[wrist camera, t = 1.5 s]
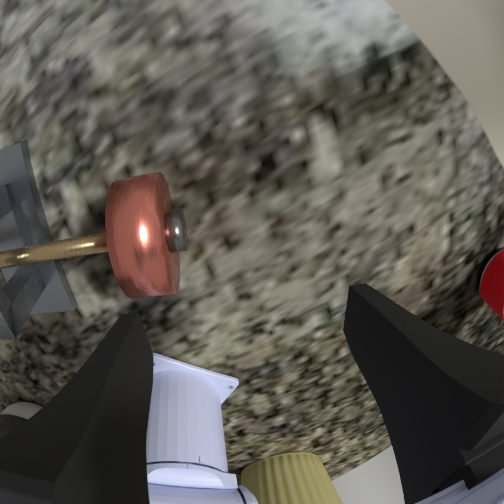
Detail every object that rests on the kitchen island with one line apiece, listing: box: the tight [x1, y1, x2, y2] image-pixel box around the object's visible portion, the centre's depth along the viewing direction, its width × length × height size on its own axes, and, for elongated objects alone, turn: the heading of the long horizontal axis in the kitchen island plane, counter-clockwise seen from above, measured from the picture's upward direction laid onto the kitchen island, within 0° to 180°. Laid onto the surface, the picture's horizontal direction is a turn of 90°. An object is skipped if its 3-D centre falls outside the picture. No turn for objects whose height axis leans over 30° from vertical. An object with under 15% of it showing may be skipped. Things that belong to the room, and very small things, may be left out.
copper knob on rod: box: [0, 172, 188, 299], centre depth 15 cm, size 17×6×6 cm, turn 94°
